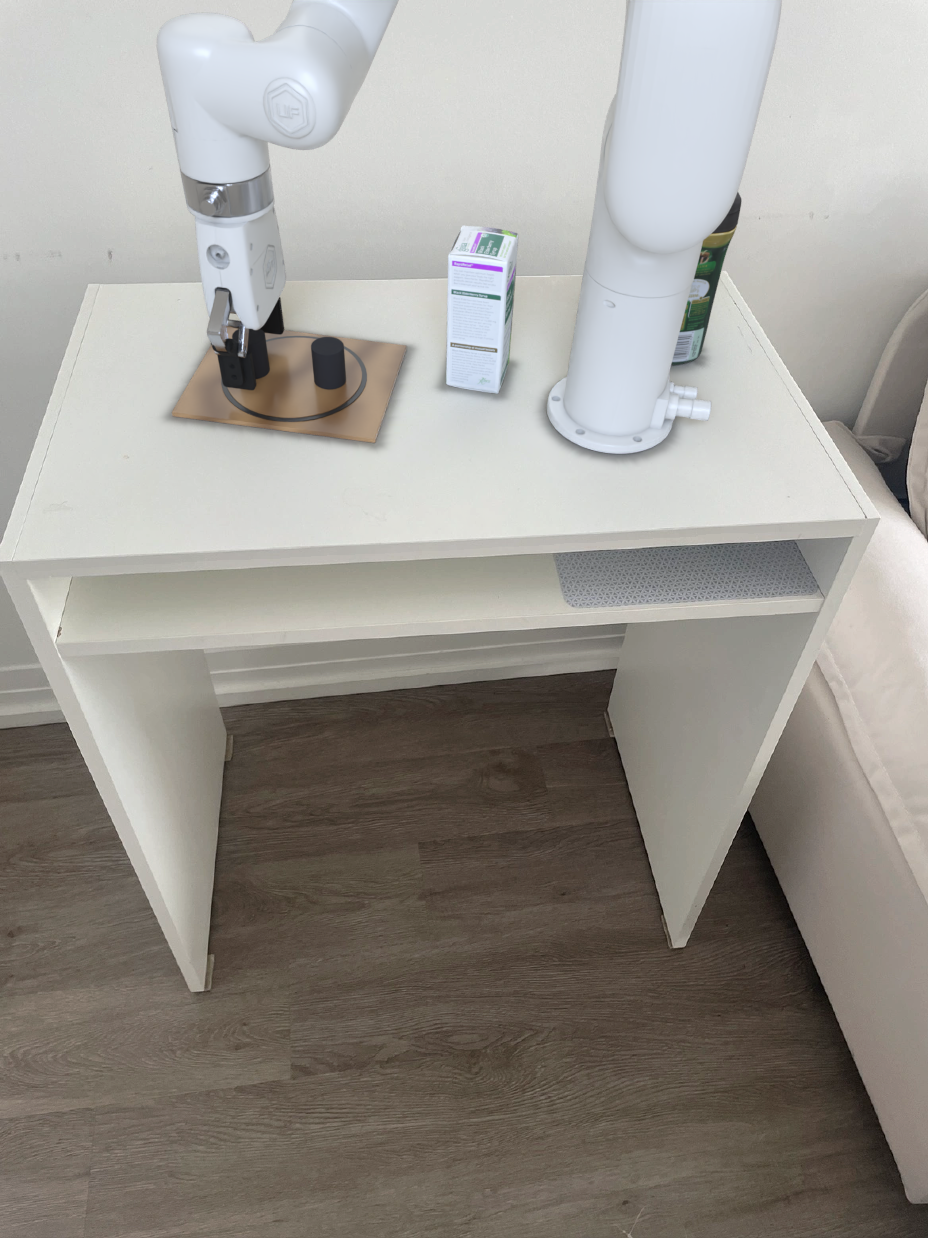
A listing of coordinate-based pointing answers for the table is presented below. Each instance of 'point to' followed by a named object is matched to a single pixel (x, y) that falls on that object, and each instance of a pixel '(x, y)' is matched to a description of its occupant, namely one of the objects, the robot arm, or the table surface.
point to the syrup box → (480, 307)
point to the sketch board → (300, 390)
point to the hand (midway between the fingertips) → (255, 358)
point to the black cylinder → (257, 351)
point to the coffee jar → (705, 288)
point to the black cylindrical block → (328, 363)
